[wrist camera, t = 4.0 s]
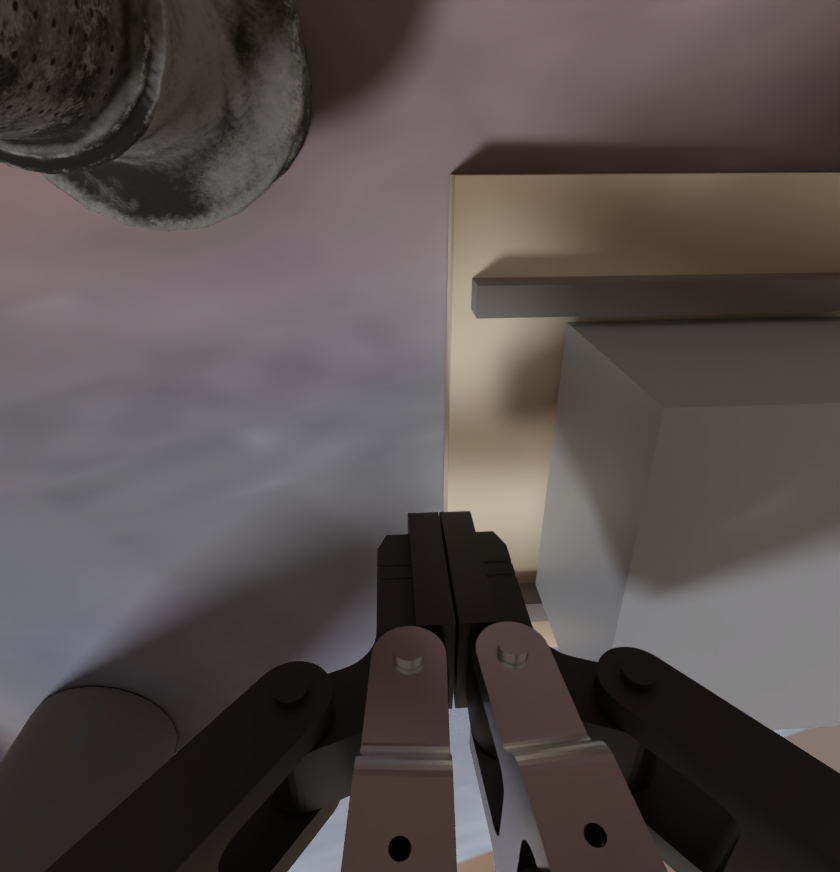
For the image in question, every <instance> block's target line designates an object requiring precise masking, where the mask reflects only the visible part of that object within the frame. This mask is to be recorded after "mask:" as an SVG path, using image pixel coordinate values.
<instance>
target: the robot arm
mask: <svg viewBox="0 0 840 872" xmlns="http://www.w3.org/2000/svg"><path fill="white" fill-rule="evenodd" d="M377 566H378V569H377V634H376V639H375V643H374V645H373V647H372V648H371V650H370V651H369V652H368V654H367V655H365V656H364V657H363V658H362V659H361V660H360V661H358V662H357V663H355V664H353V665H351V666H349V667H346V668H344V669H341V670H338V671H335V672H332V673H329V674H327V673H326V672H325V671H324V670H323V669H322V668H321V667H319V666H317V665H315V664H312V663H309V662H303V661H296V662H289V663H285V664H282V665H280V666H277V667H275V668H273V669H272V670H270V671H269V672H267V673H266V674H265V675H264V676H262V677H261V678H260V679H259V680H258V681H257V682H256V683H255V684H253V685H252V686H251V687H250V688H249V689H248V690H247V691H246V692H245V693H243V694H242V695H241V696H240V697H239V698H238V699H237V700H236V701H234V702H233V703H232V704H231V705H230V706H229V707H228V708H227V709H225V710H224V711H223V712H222V713H221V714H220V715H219V716H218V717H217V718H215V719H214V720H213V721H212V722H211V723H210V724H209V725H208V726H206V727H205V728H204V729H203V730H202V731H201V732H200V733H199V734H198V735H196V736H195V737H194V738H193V739H192V740H191V741H190V742H189V743H187V744H186V745H185V746H184V747H183V748H182V749H181V750H180V751H179V752H177V753H176V754H175V755H174V756H173V757H172V758H171V759H170V760H168V761H167V762H166V763H165V764H164V765H163V766H162V767H161V768H160V769H158V770H157V771H156V772H155V773H154V774H153V775H152V776H151V777H149V778H148V779H147V780H146V781H145V782H144V783H143V784H142V785H140V786H139V787H138V788H137V789H136V790H135V791H134V792H133V793H132V794H130V795H129V796H128V797H127V798H126V799H125V800H124V801H123V802H121V803H120V804H119V805H118V806H117V807H116V808H115V809H114V810H113V811H111V812H110V813H109V814H108V815H107V816H106V817H105V818H104V819H102V820H101V821H100V822H99V823H98V824H97V825H96V826H95V827H94V828H92V829H91V830H90V831H89V832H88V833H87V834H86V835H85V836H83V837H82V838H81V839H80V840H79V841H78V842H77V843H76V844H74V845H73V846H72V847H71V848H70V849H69V850H68V851H67V852H66V853H64V854H63V855H62V856H61V857H60V858H59V859H58V860H57V861H55V862H54V863H53V864H52V865H51V866H50V867H49V868H48V869H47V870H45V871H44V872H288V870H289V869H290V868H291V866H292V865H293V864H294V863H295V861H296V860H297V859H298V857H299V856H300V855H301V854H302V852H303V851H304V850H305V848H306V847H307V846H308V845H309V843H310V842H311V841H312V839H313V838H314V837H315V836H316V834H317V833H318V832H319V830H320V829H321V828H322V826H323V825H324V824H325V823H326V821H327V820H328V819H329V817H330V816H331V815H332V814H333V812H334V811H335V809H336V808H337V806H338V804H339V801H340V800H341V799H343V798H345V797H348V796H350V801H349V810H348V818H347V826H346V834H345V842H344V850H343V859H342V867H341V872H457V862H456V838H455V813H454V788H453V766H452V756H451V755H450V737H449V710H448V709H452V700H453V694H454V701H455V708H466V707H468V712H469V719H470V741H469V743H470V750H471V754H472V758H473V763H474V767H475V771H476V776H477V780H478V785H479V789H480V793H481V798H482V802H483V807H484V811H485V815H486V820H487V824H488V828H489V833H490V837H491V842H492V847H493V853H494V861H495V872H668V871H667V869H666V867H665V865H664V862H665V863H666V864H668V865H669V866H670V867H671V868H672V869H673V870H674V871H676V872H840V773H838V772H836V771H835V770H833V769H832V768H830V767H829V766H827V765H825V764H824V763H822V762H821V761H819V760H817V759H816V758H814V757H813V756H811V755H810V754H808V753H807V752H805V751H804V750H802V749H800V748H799V747H797V746H796V745H794V744H793V743H791V742H789V741H788V740H786V739H785V738H783V737H782V736H780V735H778V734H777V733H775V732H774V731H772V730H771V729H769V728H768V727H766V726H764V725H763V724H761V723H760V722H758V721H757V720H755V719H753V718H752V717H750V716H749V715H747V714H746V713H744V712H743V711H741V710H739V709H738V708H736V707H735V706H733V705H732V704H730V703H728V702H727V701H725V700H724V699H722V698H721V697H719V696H717V695H716V694H714V693H713V692H711V691H710V690H708V689H707V688H705V687H703V686H702V685H700V684H699V683H697V682H696V681H694V680H692V679H691V678H689V677H688V676H686V675H685V674H683V673H681V672H680V671H678V670H677V669H675V668H674V667H672V666H671V665H669V664H667V663H666V662H664V661H663V660H661V659H660V658H658V657H656V656H655V655H653V654H651V653H649V652H647V651H644V650H641V649H638V648H633V647H617V648H613V649H610V650H608V651H606V652H605V653H604V654H603V655H602V656H601V657H600V659H599V661H598V662H595V661H591V660H586V659H582V658H577V657H573V656H569V655H566V654H563V653H561V652H558V651H557V650H555V649H553V648H551V647H550V646H549V645H548V644H547V642H546V640H545V639H544V638H543V636H542V635H541V634H539V633H538V632H537V631H536V630H534V629H533V626H532V624H531V620H530V617H529V614H528V611H527V608H526V605H525V602H524V599H523V596H522V592H521V589H520V586H519V583H518V580H517V577H516V576H515V571H514V568H513V564H511V558H510V555H509V552H508V549H507V546H506V544H505V543H504V542H503V541H502V540H501V539H500V538H499V537H498V536H497V535H496V534H495V533H494V532H493V531H484V532H476V531H475V527H474V523H473V519H472V515H471V512H470V511H455V512H440V514H439V515H438V512H430V513H408V534H405V535H387V536H386V537H385V539H384V540H383V542H382V544H381V545H380V547H379V548H378V564H377ZM663 861H664V862H663Z"/></svg>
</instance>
